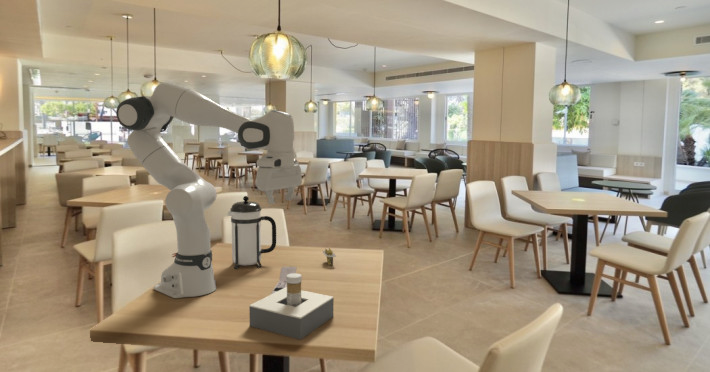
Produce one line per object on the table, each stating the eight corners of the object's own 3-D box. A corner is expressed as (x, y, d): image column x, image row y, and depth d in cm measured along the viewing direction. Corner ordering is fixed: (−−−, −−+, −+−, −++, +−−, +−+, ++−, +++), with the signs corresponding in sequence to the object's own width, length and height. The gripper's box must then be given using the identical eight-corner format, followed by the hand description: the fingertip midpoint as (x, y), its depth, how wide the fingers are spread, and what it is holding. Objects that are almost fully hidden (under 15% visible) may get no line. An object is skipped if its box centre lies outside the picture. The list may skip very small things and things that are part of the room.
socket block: (249, 326, 132) (249, 305, 131) (286, 305, 148) (286, 287, 147) (300, 339, 123) (300, 317, 123) (333, 316, 139) (333, 296, 139)
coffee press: (248, 273, 181) (247, 199, 178) (221, 266, 190) (219, 196, 186) (277, 262, 196) (276, 195, 192) (250, 257, 204) (249, 192, 201)
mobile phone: (297, 266, 172) (285, 288, 147) (297, 281, 173) (285, 305, 148) (281, 266, 172) (267, 288, 148) (281, 281, 173) (267, 305, 148)
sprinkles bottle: (301, 314, 138) (301, 272, 136) (301, 321, 133) (301, 277, 132) (286, 315, 137) (286, 272, 136) (285, 321, 133) (285, 277, 131)
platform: (320, 271, 186) (320, 255, 186) (311, 259, 203) (311, 245, 203) (347, 268, 190) (347, 253, 189) (336, 257, 207) (336, 243, 206)
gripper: (291, 158, 158) (291, 197, 160) (253, 161, 140) (253, 204, 142) (306, 159, 155) (305, 198, 157) (269, 162, 137) (269, 206, 139)
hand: (280, 201), depth 149 cm, fingers open, 8 cm apart
